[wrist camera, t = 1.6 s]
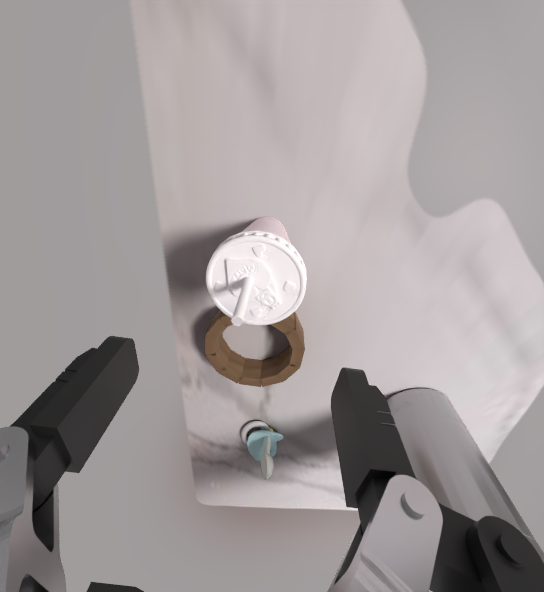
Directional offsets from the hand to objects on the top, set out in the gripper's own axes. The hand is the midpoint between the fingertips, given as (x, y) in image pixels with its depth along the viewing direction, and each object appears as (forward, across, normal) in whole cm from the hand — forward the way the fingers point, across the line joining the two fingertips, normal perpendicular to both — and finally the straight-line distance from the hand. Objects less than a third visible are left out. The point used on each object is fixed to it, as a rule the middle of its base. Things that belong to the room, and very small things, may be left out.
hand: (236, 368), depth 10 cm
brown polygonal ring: (+17, 0, +12) cm, 20 cm away
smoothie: (+17, 0, 0) cm, 17 cm away
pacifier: (+17, -3, +31) cm, 35 cm away
